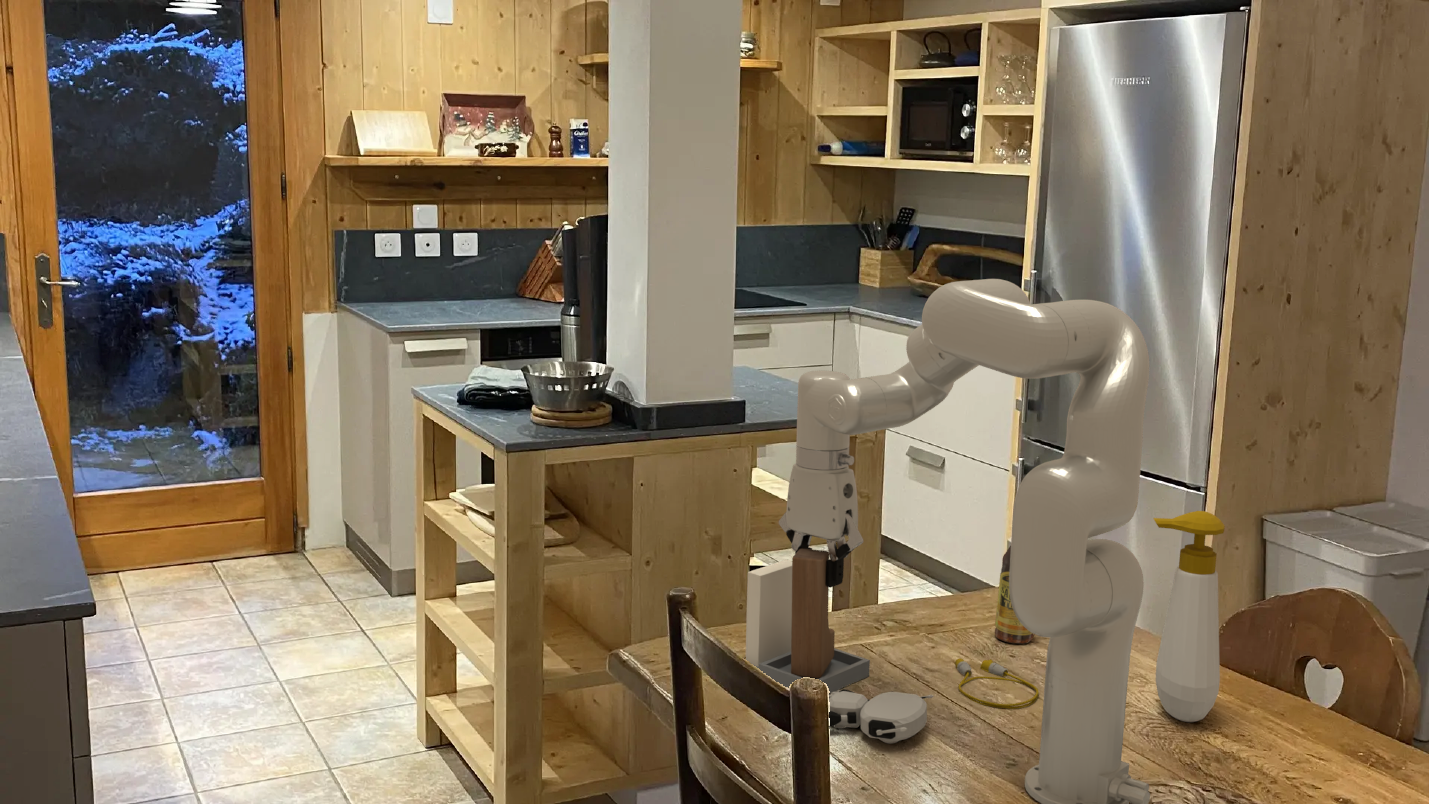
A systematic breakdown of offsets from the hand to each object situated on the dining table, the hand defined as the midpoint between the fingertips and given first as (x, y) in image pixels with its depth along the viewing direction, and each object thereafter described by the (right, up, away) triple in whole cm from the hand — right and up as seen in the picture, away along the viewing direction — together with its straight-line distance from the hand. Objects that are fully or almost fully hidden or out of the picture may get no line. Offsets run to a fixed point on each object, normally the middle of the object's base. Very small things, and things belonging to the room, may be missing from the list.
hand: (818, 579), depth 194 cm
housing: (-2, -14, +5) cm, 16 cm away
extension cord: (+26, -16, +1) cm, 31 cm away
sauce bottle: (+33, -12, +21) cm, 41 cm away
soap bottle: (+50, -18, -6) cm, 53 cm away
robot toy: (+6, -19, -14) cm, 24 cm away
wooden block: (-1, -13, +3) cm, 14 cm away
